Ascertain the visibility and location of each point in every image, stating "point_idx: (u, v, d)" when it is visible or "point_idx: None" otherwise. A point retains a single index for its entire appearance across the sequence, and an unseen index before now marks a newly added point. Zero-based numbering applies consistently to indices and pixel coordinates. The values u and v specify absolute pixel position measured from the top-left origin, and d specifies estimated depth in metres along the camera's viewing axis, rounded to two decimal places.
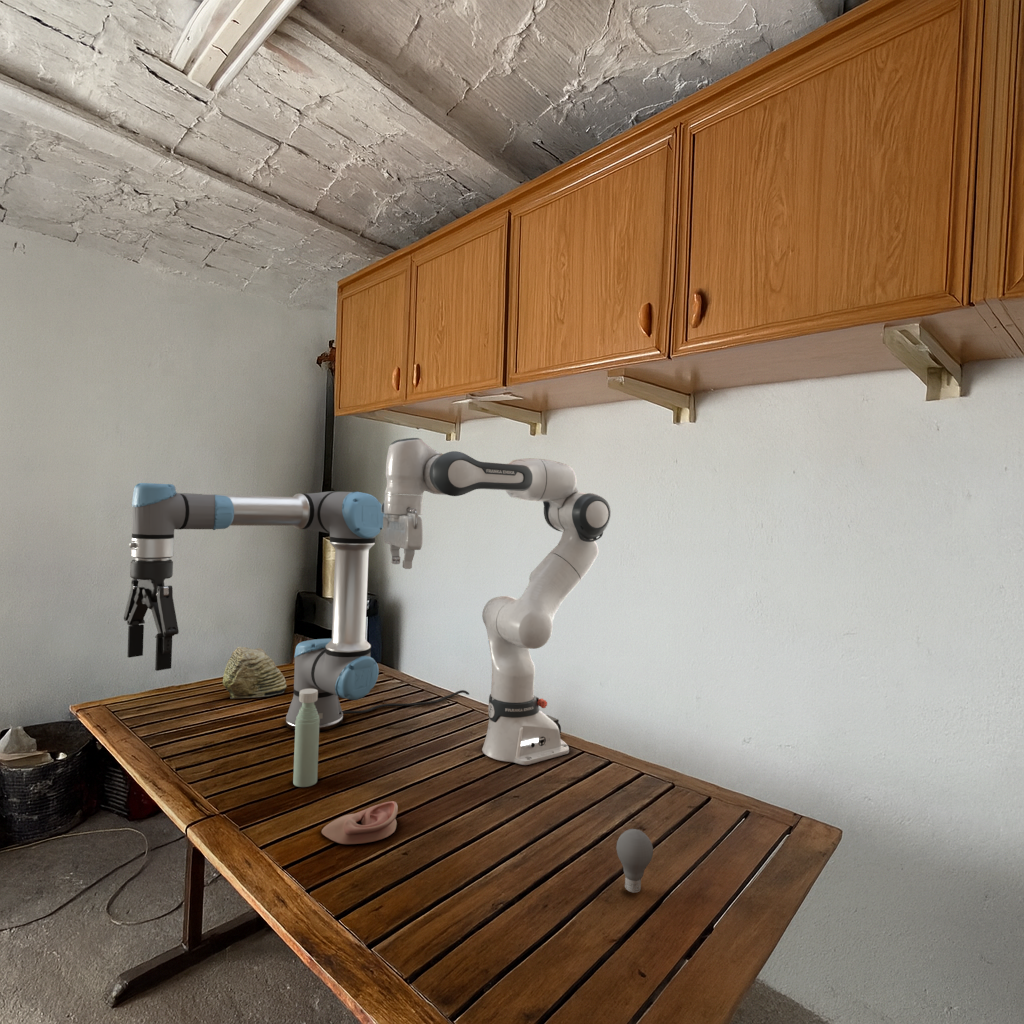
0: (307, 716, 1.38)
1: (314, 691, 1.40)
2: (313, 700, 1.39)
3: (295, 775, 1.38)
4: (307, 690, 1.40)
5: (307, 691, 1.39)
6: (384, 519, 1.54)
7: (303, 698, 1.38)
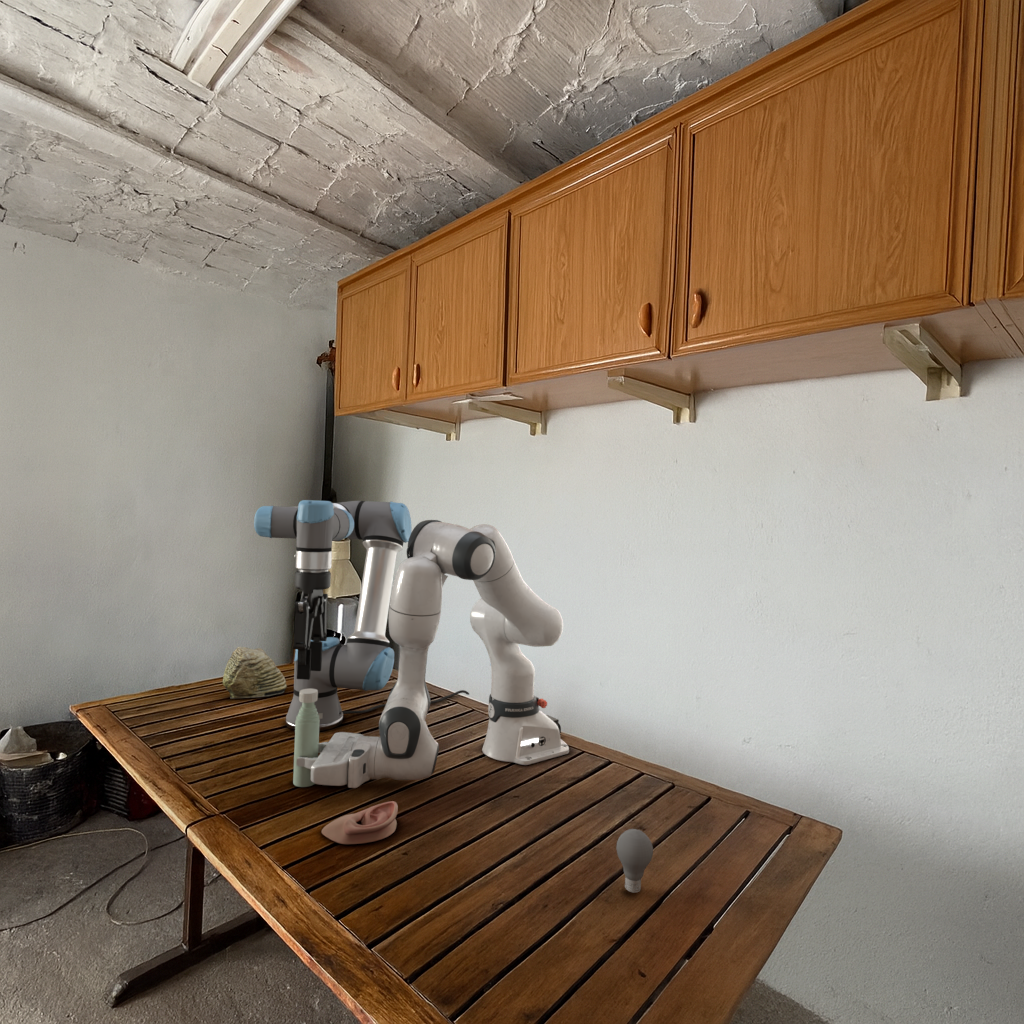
0: (307, 716, 1.38)
1: (314, 691, 1.40)
2: (313, 700, 1.39)
3: (295, 775, 1.38)
4: (307, 690, 1.40)
5: (307, 691, 1.39)
6: None
7: (303, 698, 1.38)
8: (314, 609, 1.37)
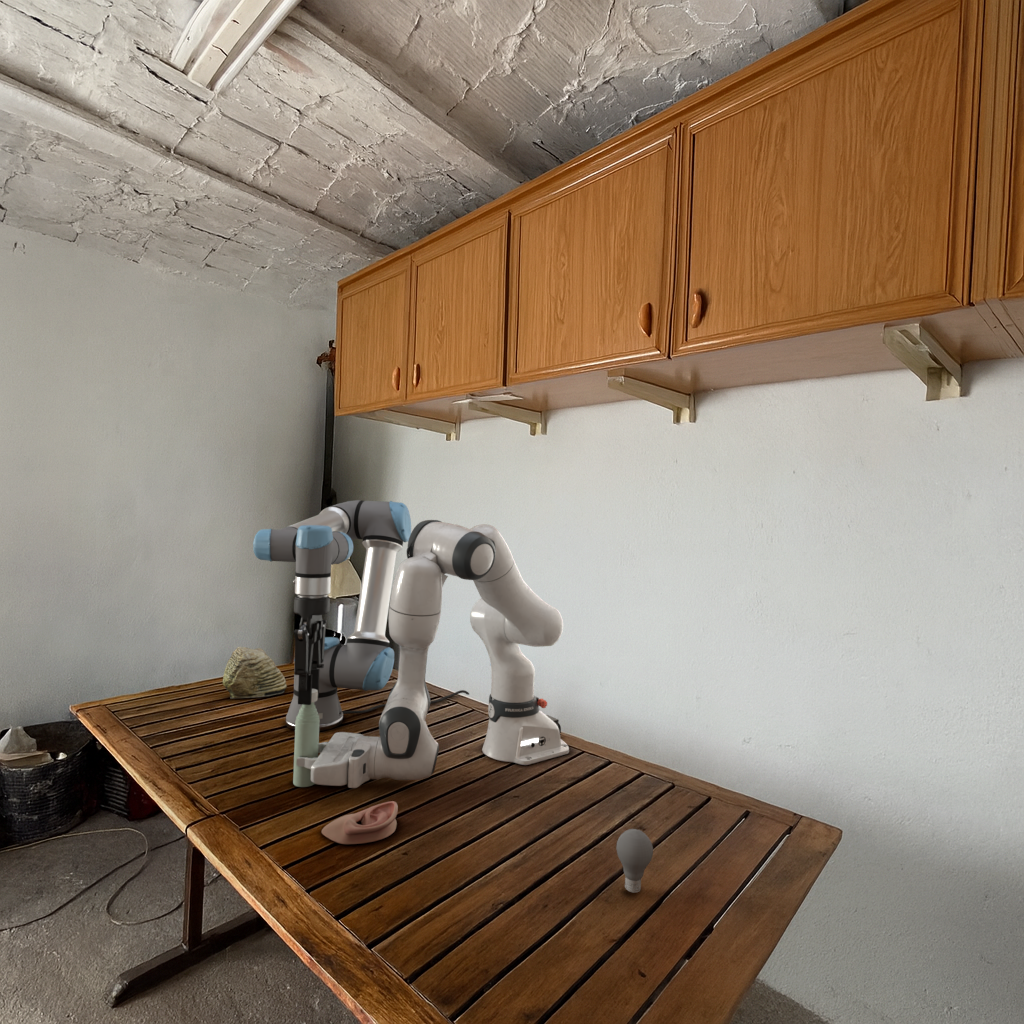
0: (307, 716, 1.38)
1: (314, 691, 1.40)
2: (313, 700, 1.39)
3: (295, 775, 1.38)
4: None
5: None
6: None
7: None
8: (313, 635, 1.37)
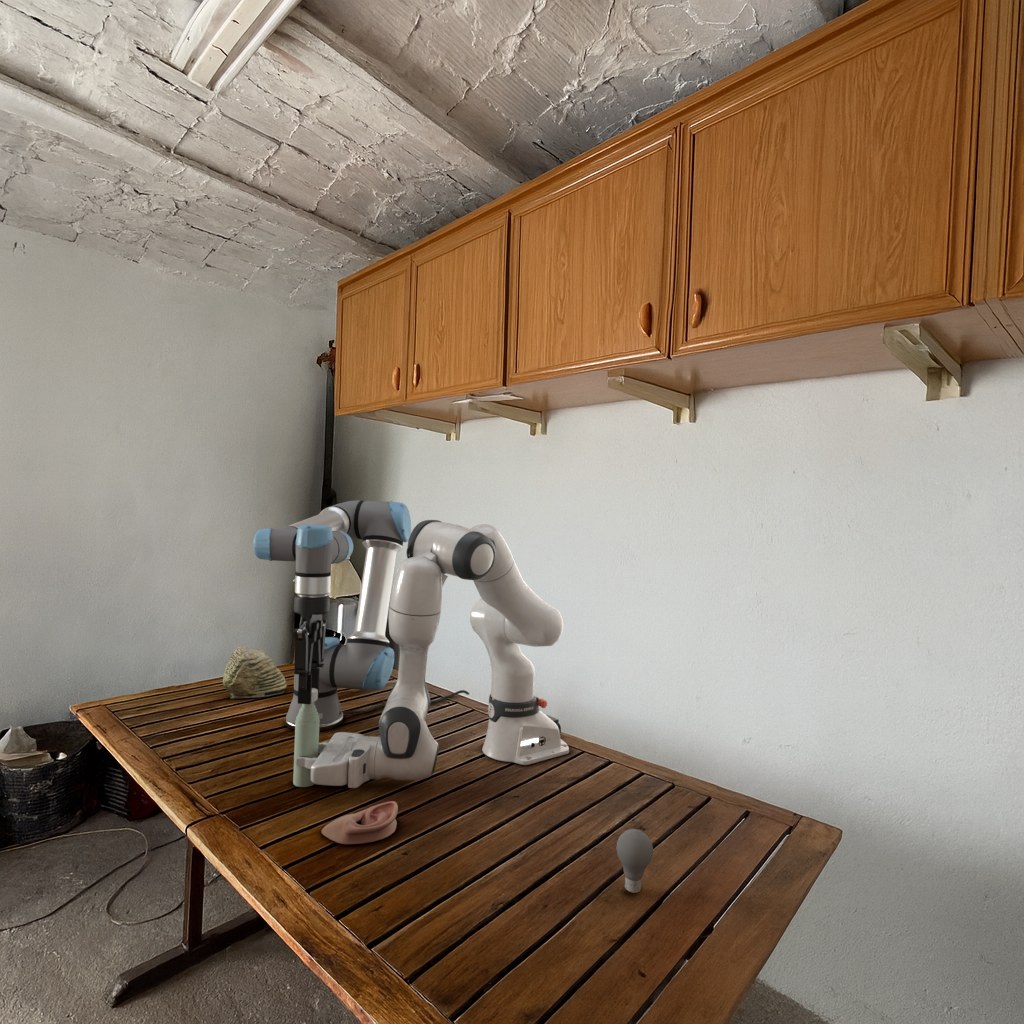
0: (307, 716, 1.38)
1: None
2: None
3: (295, 775, 1.38)
4: None
5: None
6: None
7: (317, 695, 1.40)
8: (313, 634, 1.37)
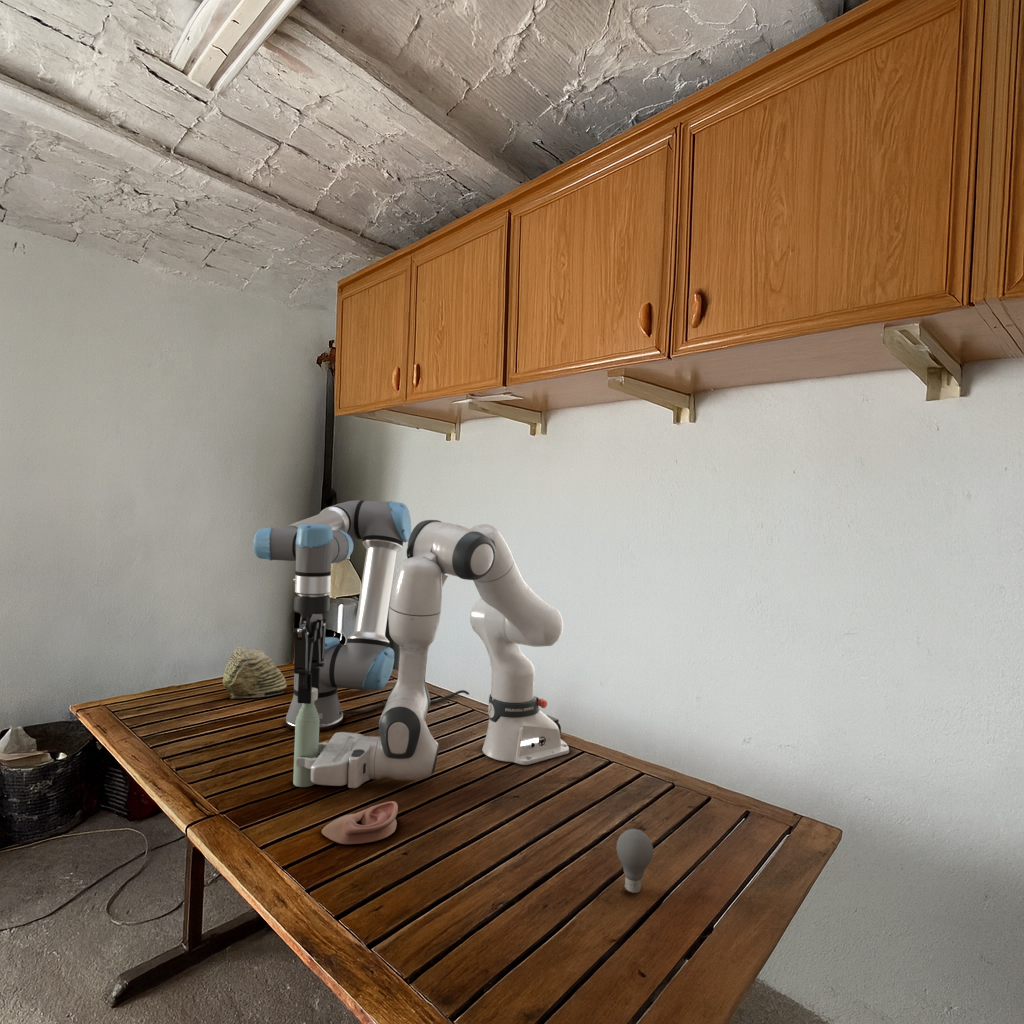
0: (307, 716, 1.38)
1: None
2: None
3: (295, 775, 1.38)
4: None
5: None
6: None
7: None
8: (313, 634, 1.37)
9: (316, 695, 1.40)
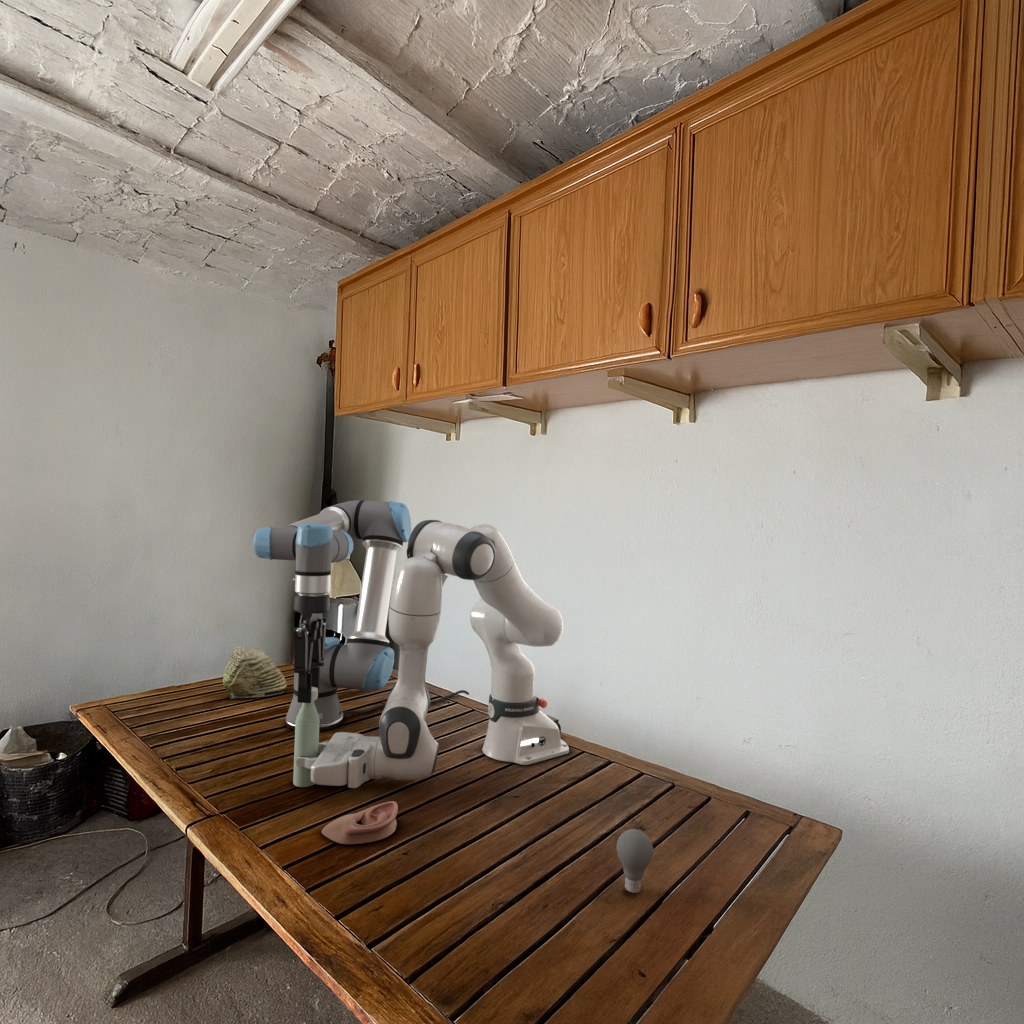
0: (307, 716, 1.38)
1: (313, 690, 1.39)
2: (311, 699, 1.38)
3: (295, 775, 1.38)
4: None
5: None
6: None
7: None
8: (313, 633, 1.37)
9: None
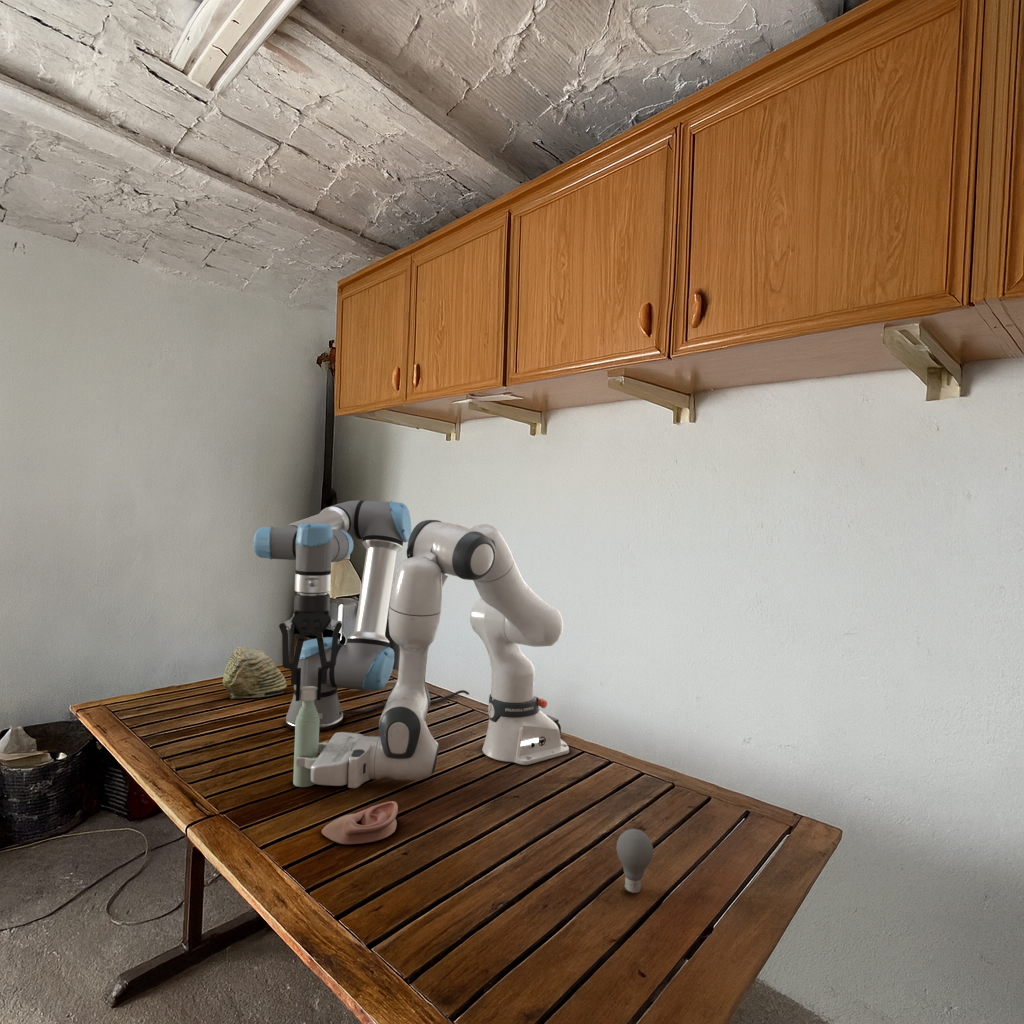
0: (307, 716, 1.38)
1: (310, 686, 1.41)
2: None
3: (295, 775, 1.38)
4: (306, 689, 1.39)
5: (311, 689, 1.40)
6: None
7: (316, 694, 1.40)
8: None
9: (300, 694, 1.39)
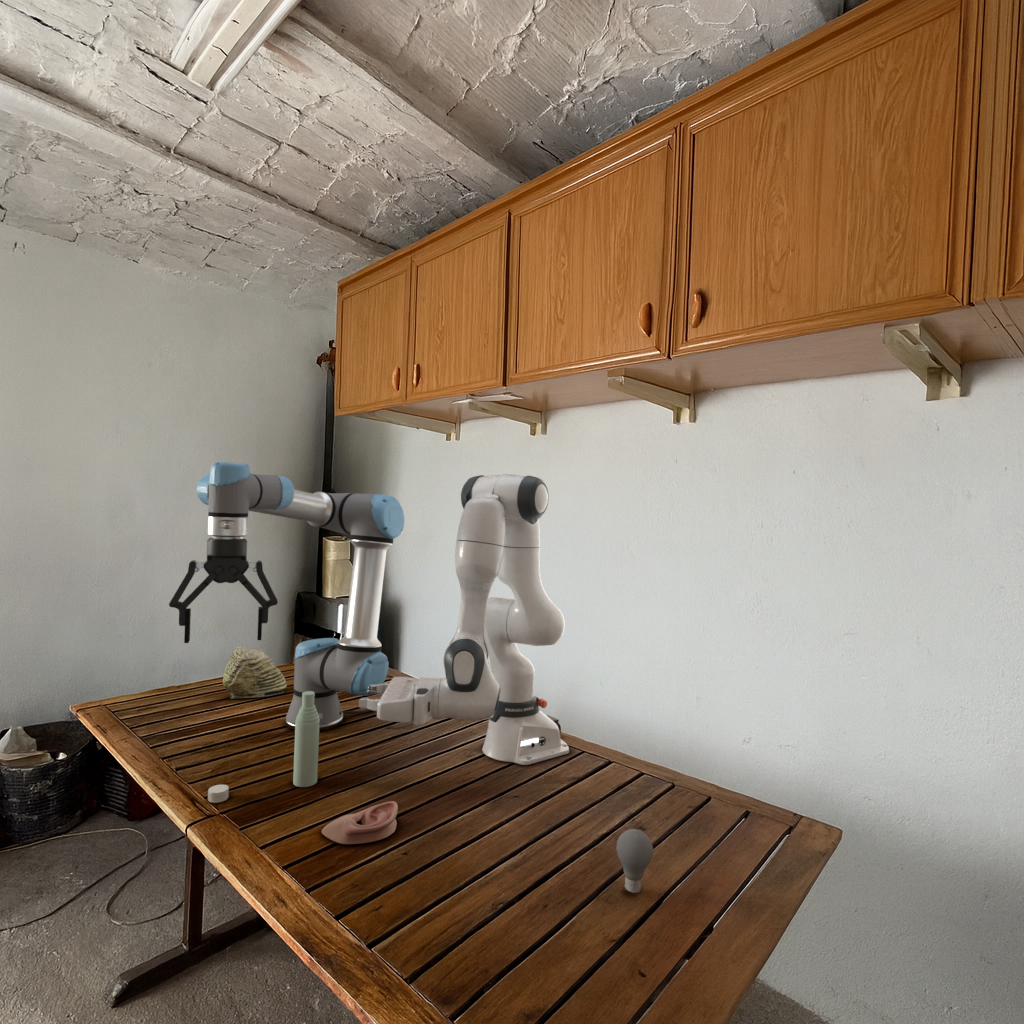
0: (307, 716, 1.38)
1: (220, 785, 1.32)
2: None
3: (295, 775, 1.38)
4: (216, 789, 1.31)
5: (221, 788, 1.31)
6: None
7: (227, 794, 1.31)
8: None
9: (208, 796, 1.30)
